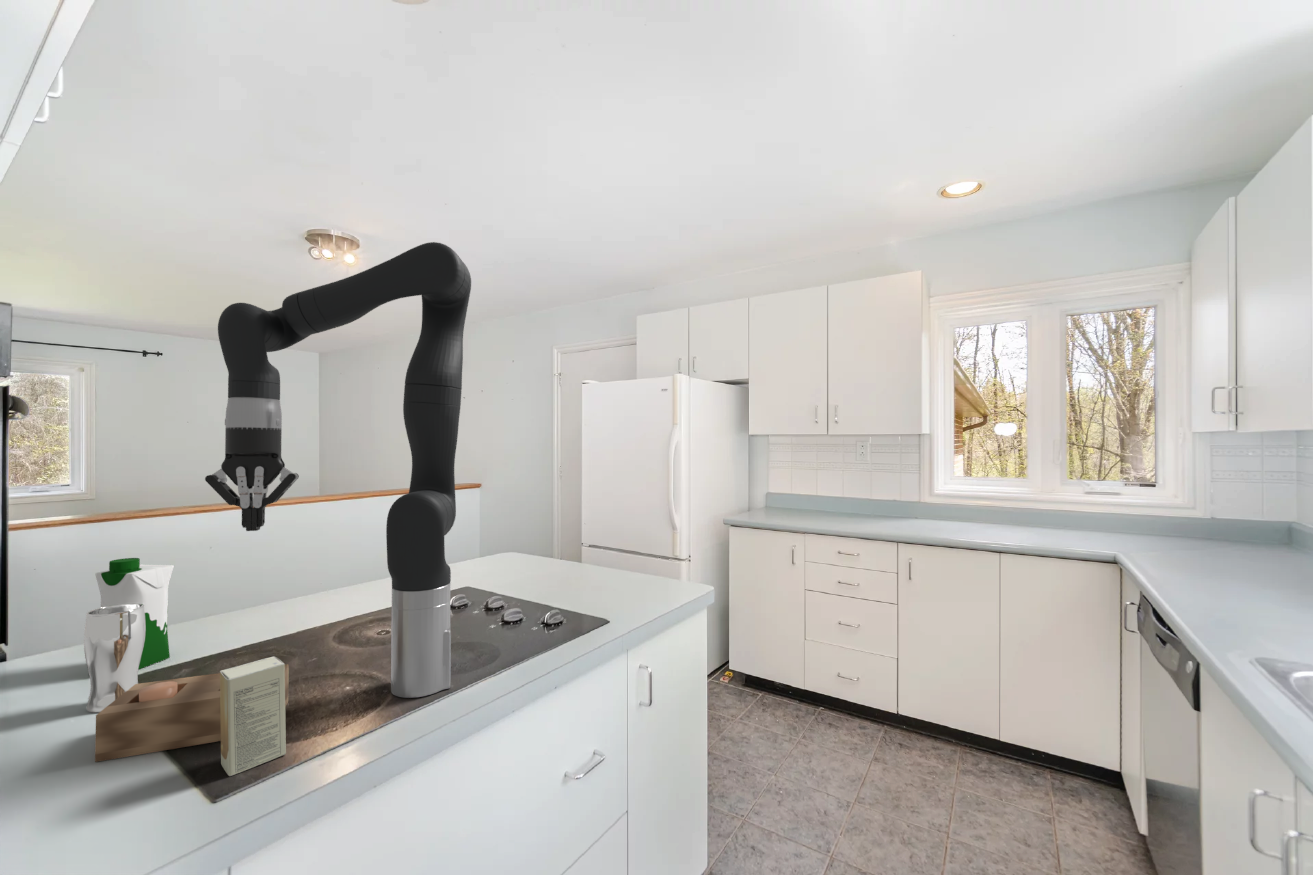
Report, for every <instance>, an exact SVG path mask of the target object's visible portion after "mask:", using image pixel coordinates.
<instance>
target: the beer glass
mask: <svg viewBox="0 0 1313 875" xmlns="http://www.w3.org/2000/svg"><path fill="white" fill-rule="evenodd" d="M85 615H86V617H85V623H84V624H85V625H84V629H83V630H84V631H83V632H84V633H83V652H84V659H85V662H86V667H87V670H88V674H89V680H90V691H89V696H88V700H87V704H86V711H87V712H88V713H96V714H98V713H99V712H101V711H102V710H103V709H104V708H106V707H107V706H108V705H110V704H111V703H112V702H113V701H115V700H116V699H117V698H118V697H120V696H121V695H122V694H124V693H125V692H126V691H127V690H129V689H130V688H131V687H132V686H134V685H135V684H139V681H138V679H139V678H138V676H139V670H140V669H139V664H140V660H141V656H142V652H143V647H144V642H145V632H146V623H145V612H144V604H141V603H127V604H118V605H112V606H106V607H101V606H100V607H97V608H94V609H91V610H89V611H87V612H86V614H85ZM138 669H139V670H138Z"/></svg>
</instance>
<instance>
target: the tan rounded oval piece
mask: <svg viewBox="0 0 1313 875" xmlns="http://www.w3.org/2000/svg"><path fill="white" fill-rule="evenodd" d="M177 684H178V683H177V682H174V681H168V682H161V683H156V684H153V685H149V686H147V687H144V688H142V689H141V690H140V691H139V702H144V701H151V700H158V699H165V698H172V697H174V696H175V695H176V694H177Z"/></svg>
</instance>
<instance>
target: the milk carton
mask: <svg viewBox="0 0 1313 875" xmlns="http://www.w3.org/2000/svg"><path fill="white" fill-rule="evenodd" d="M140 563H141V562H140V558H138V557H127V558H118V559H113V560H110V561H109V562H108V570H104V571H100V572H95V579H96V582H97V586H98V590H99V594H100V608H101V607H106V606H112V605H118V604H127V603H141V604H144V612H145V623H146V632H145V642H144V647H143V652H142V656H141V660H140V664H139V669H138V671H139V670H142V669H145V668H146V667H150V666H152V665H155V664H157V663H160V662H162V661H165V660H167V659H169V658H170V657H171V656H170V654H171V653H170V644H169V634H168V618H169V617H168V612H169V605H168V603H169V602H168V601H169V587H170V586H169V585H170V581H171V577H172V574H173V570H174V568H175V565H174V564H142V563H141V564H140Z"/></svg>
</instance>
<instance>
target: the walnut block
mask: <svg viewBox="0 0 1313 875" xmlns="http://www.w3.org/2000/svg"><path fill="white" fill-rule="evenodd" d="M289 666H290V665H289V664H284V668H285V708H286V707H287V705H288V704H289V691H290V690H289V689H290V688H289V687H290V686H289V685H290V684H289V682H290V680H289V678H290V677H289V675H290V674H289V670H290V667H289ZM168 681H174V682H177V683H178V684H177V694H176V695H175V696H174V697H172V698H165V699H158V700H151V701H144V702H139V691H140V690H141V689H142V688H144V687H147V686H149V685H153V684H156V683H161V682H168ZM94 741H95V742H94V743H95V744H94V746H95V749H94V750H95V751H94V762H95V763H98V762H103V761H110V760H116V759H122V758H126V757H133V756H134V757H135V756H139V755H144V754H145V755H146V754H152V753H156V752H163V751H167V750H169V751H170V750H175V749H180V748H185V747H186V748H187V747H192V746H197V745H198V746H199V745H205V744H209V743H210V744H211V743H215V742H216V743H217V742H221V719H220V672H217V673H212V674H203V675H195V676H187V677H179V678H172V679H171V678H170V679H165V680H157V681H155V680H154V681H150V682H148V681H147V682H142V683H141V682H140V683H138V684H135V685H134V686H132V687H131V688H130V689H129V690H127V691H126V692H125V693H124V694H122V695H121V696H120V697H118V698H117V699H116V700H115V701H113V702H112V703H111V704H110V705H108V706H107V707H106V708H104V709H103V710H102V711H101V712H98V713H96V715H95V740H94Z"/></svg>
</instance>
